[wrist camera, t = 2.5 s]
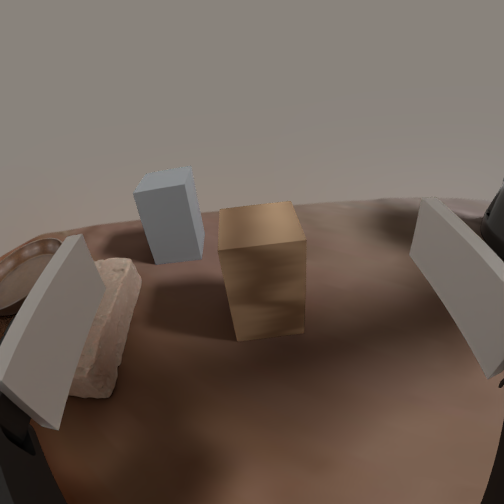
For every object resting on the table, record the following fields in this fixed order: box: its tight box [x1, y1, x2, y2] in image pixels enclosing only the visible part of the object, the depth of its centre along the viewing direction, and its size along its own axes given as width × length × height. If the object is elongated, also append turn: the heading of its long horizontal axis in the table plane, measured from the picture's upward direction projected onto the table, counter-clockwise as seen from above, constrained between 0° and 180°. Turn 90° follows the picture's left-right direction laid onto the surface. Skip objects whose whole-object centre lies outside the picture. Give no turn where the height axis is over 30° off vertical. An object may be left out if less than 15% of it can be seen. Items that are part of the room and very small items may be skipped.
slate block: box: [133, 166, 205, 265], centre depth 36 cm, size 6×6×10 cm
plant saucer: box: [0, 238, 62, 316], centre depth 35 cm, size 18×18×3 cm
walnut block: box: [218, 201, 306, 341], centre depth 25 cm, size 6×6×10 cm
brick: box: [68, 258, 142, 398], centre depth 26 cm, size 16×8×5 cm, turn 3°
